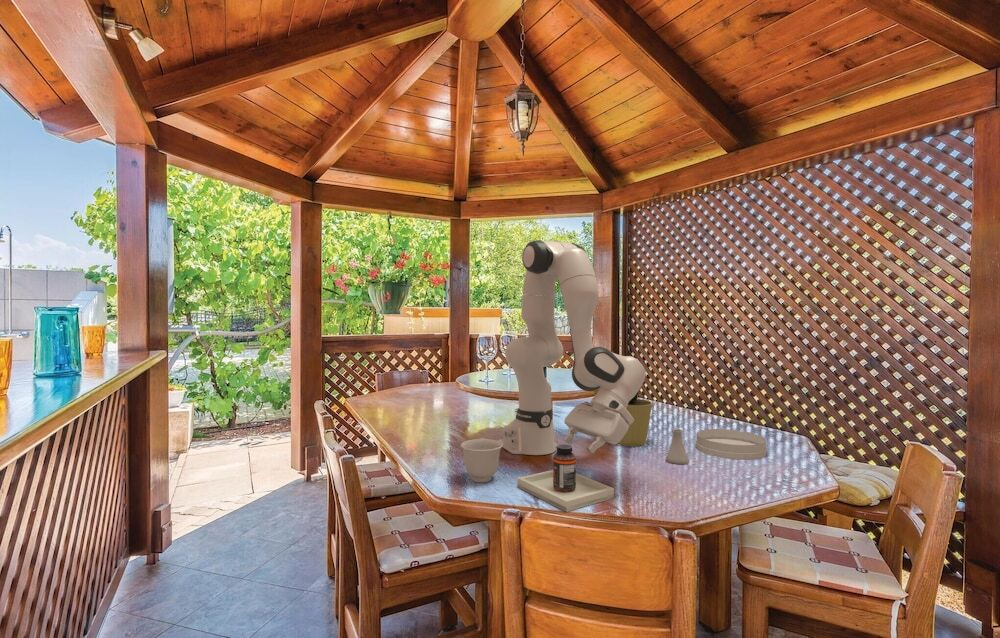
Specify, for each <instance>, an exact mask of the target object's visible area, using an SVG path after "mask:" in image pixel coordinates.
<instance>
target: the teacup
mask: <svg viewBox="0 0 1000 638" xmlns="http://www.w3.org/2000/svg"><path fill="white" fill-rule="evenodd" d="M502 446H503V444H502V443H501V442H499V441H498V440H496V439H489V438H484V437H481V438H473V439H468V440H465V441H463V442H461V443H460V447H461V449H462V451H463V452H462V453H463V458H464V459H463V460H464V467H465V470H466V473H467V474H468V475H470V476H471V481H473V482H475V483H488V482H491V480H492V479H493V478H492V476H493V475H494V474H496V472H497V471H498V469H499V462H500V453H501V449H502V448H503V447H502Z"/></svg>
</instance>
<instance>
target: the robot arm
mask: <svg viewBox="0 0 1000 638" xmlns="http://www.w3.org/2000/svg"><path fill="white" fill-rule="evenodd" d="M521 260H522V264H523V267H524V269H525V270H526V272H525V275H524V279H523V285H522V298H521V300H522V301H521V310H520V311H521V312H520V316H521V319H522V321H523V322H524V323H525V325H526V328H527V332H528V336H521V337H518V338H515V339H514V340H511V341H510V342H509V343H508V344H507V345H506V348H505V351H504V352H505V353H504V355H505V360H506V362H507V364H508V366H510V367H511V368H512V369H513V372H514V374H515V377H516V381H517V386H518V408H514V409H513V410H515V411H514V413H515V418H514V419H513V420H512V421H511V422H510V423H509V424H507V425H506V426H505V427H504V430H503V438H499V439H498V440H497V441H499V442H501V443H502V444H503V446H502V447H501V448H503V449H505V450H506V451H508V452H509V453H511V454H512V455H526V456H527V455H529V456H544V455H550V454H552V453H555V452H557V446H558V444H557V442H556V440H555V439H556V437H555V428H554V423H553V422H552V420H553V417H554V415H553V413H554V412H553V408H552V386H551V384H550V383H549V382H548V381H547V379H546V376H545V373H544V368H545V367H550V366H554V365H555V364H556V363H558V362H559V361H560V360H561V359H562V358H563V355H564V346H563V344H562V342H561V340H559V337H558V334H557V330H556V325H555V303H556V301H555V300H556V297H555V296H556V284H557V280H558V282H559V283H558V284H559V288H560V292H561V296H562V300H563V305H564V308H565V313H566V317H567V322H568V327H569V332H570V340H571V345H572V352H573V365H572V368H571V369H572V370H571V377H572V378H571V379H572V381H573V383H574V384H575V385H576V387H578V388H579V389H581V390H583V391H584V392H595V391H597V392H596V394H595V395H594V396H593V398H592V399H591V400H590V402H588V401H584V402H581V403H579V404H577V405H576V406H574V407H573V408H572V410H570V412H569V413H568V414H567V415H566V417H565V418H564V424H565V426H567V428H568V432H567V435H566V436H565V438H564V442H565V444H567V445H572V444H573V443H574V442H575V439H574V437H575V435H577V433H580V434H583V435H586V436H589V437H591V438H594V439H596V440H594V441H593V442H592V443H589V444H588V445H587V446H586V448H585V449H586V450H587V452H588V453H591V454H595V452H596V450H597V449H599V448H601V447H603V446H604V445H605V444H606V443H608V444H610V445H613V446H615V445H618V444H617V443H619V442H620V441H621V440H622V438H623V437H624V435H625V434H626V432H627V430H628V428H629V425H631V424H632V423H633V421H634V419H633V417H632V416H631V414H630V413H629V412H628V411H627V410H626V408H627V405H628V403H629V401H630V400H631V399H632V398H634V396H635V395H636V394H637V392H638V393H639V392H640V390H641V388H642V386H643V384H644V382H645V379H646V376H647V373H646V372H647V371H646V369H645V366H644V365H643V364H642V362H641V361H639V359H637V358H636V357H634V356H631V355H627V356H625V355H621V354H617V353H615V352H613V351H611V350H610V349H608V348H606V347H602V346H594V343H593V335H592V320H593V316H594V314H595V311H596V308H597V305H598V303H599V299H600V298H599V297H600V296H599V294H600V293H599V285H598V284H599V283H598V281H597V277H596V273H595V270H594V269H595V268H594V267H593V264H592V262H591V259H590V258H589V255H588V253H587V251H586V249H585V248H584V247H583V246H581V245H580V244H577V243H573V242H572V243H570V242H565V241H561V240H560V241H559V240H555V241H553V240H541V239H540V240H531V241H530V242H528V243H526V245H525V247H524V249H523V251H522V259H521Z"/></svg>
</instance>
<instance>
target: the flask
mask: <svg viewBox="0 0 1000 638" xmlns="http://www.w3.org/2000/svg"><path fill="white" fill-rule="evenodd" d="M671 431H672V440H671V444H670V446H669V448H668V451H667V454H666V456H665V459H664V461H665V462H667V463H669V464H677V465H687V464H689V462H690V460H689V458H688V454H687V452H686V451H687V450H686V449H685V446H684V442H683V432H684V430H682V429H679V428H673V429H671Z"/></svg>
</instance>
